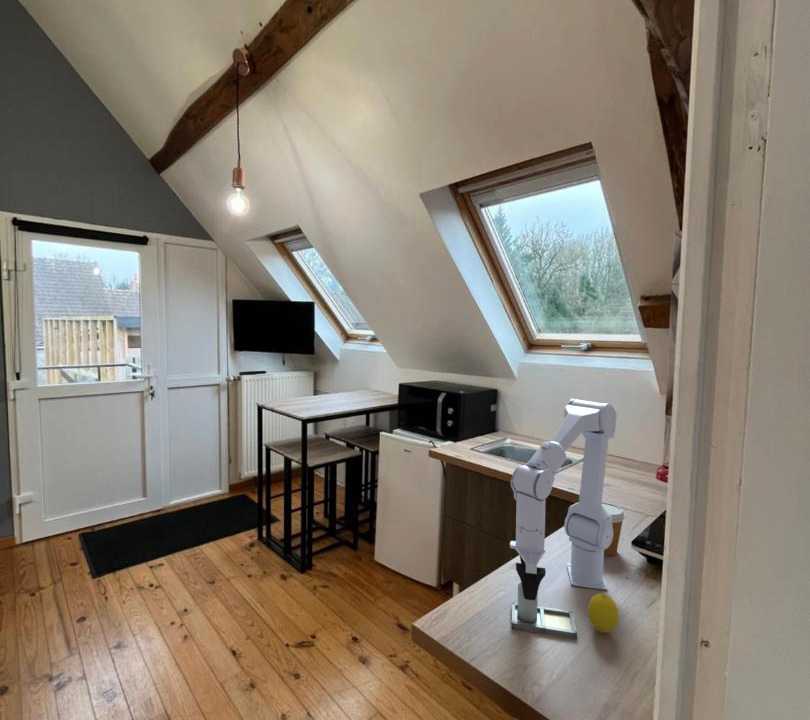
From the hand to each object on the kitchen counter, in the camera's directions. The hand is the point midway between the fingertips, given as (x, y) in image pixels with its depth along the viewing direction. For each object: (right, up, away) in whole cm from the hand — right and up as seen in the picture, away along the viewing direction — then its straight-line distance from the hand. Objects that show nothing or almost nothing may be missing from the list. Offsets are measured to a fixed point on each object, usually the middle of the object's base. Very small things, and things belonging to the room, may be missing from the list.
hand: (529, 587), depth 91 cm
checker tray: (+3, -7, 0) cm, 8 cm away
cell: (0, -7, 0) cm, 7 cm away
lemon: (+14, -8, -3) cm, 16 cm away
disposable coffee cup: (+29, -5, +29) cm, 42 cm away
